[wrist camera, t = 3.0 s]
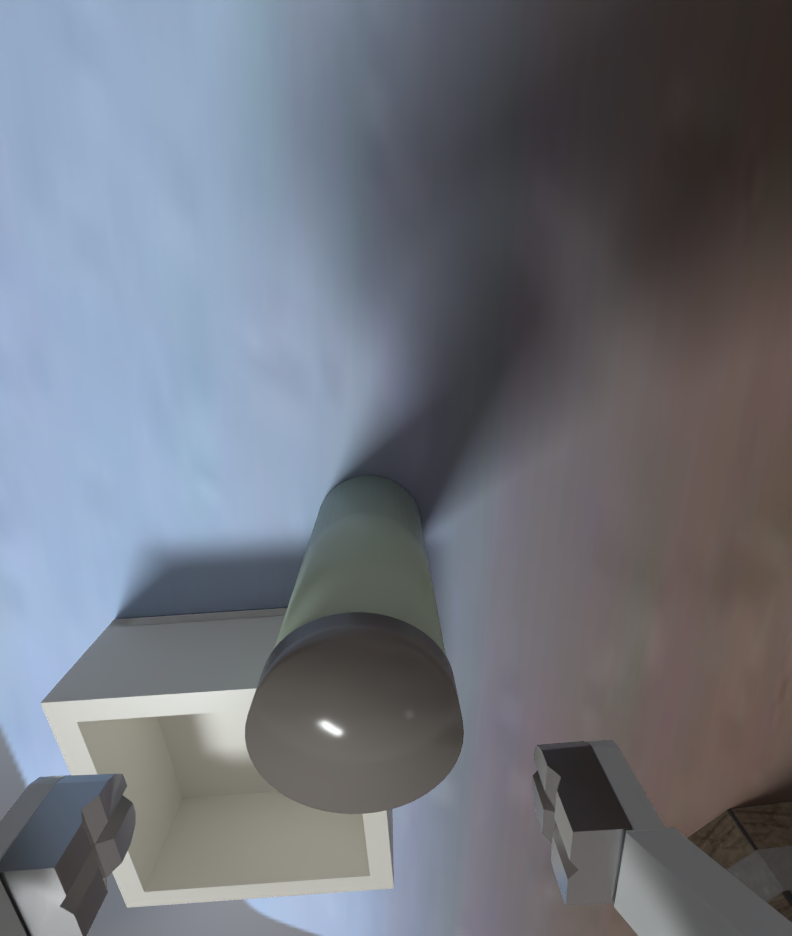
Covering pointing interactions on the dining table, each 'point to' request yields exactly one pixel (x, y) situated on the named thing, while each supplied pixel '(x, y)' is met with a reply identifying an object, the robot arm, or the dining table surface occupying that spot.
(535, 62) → the dining table surface
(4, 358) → the dining table surface
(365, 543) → the spice jar
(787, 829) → the mug
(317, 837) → the bin
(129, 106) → the dining table surface
